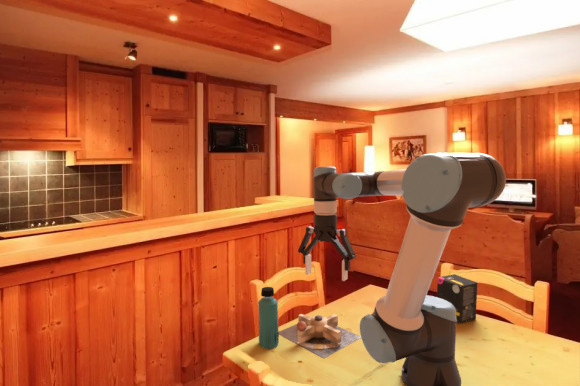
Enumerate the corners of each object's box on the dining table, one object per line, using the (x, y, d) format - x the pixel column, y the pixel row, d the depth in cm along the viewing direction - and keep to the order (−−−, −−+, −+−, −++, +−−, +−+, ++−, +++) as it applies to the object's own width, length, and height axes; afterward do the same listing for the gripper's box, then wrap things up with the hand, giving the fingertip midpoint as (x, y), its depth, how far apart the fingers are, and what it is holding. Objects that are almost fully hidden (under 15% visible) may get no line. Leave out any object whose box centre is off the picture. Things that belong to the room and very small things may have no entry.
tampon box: (435, 313, 143) (436, 276, 142) (452, 308, 147) (453, 273, 146) (458, 324, 133) (460, 285, 132) (476, 319, 137) (478, 281, 136)
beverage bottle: (276, 354, 114) (275, 292, 112) (256, 352, 116) (254, 291, 114) (281, 344, 121) (280, 285, 119) (261, 342, 122) (260, 284, 120)
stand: (362, 341, 122) (362, 336, 122) (323, 363, 109) (323, 357, 109) (314, 320, 138) (314, 315, 138) (276, 337, 125) (276, 332, 125)
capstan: (356, 334, 123) (356, 314, 122) (318, 355, 110) (318, 332, 110) (317, 317, 136) (317, 299, 136) (279, 334, 124) (279, 314, 123)
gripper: (365, 214, 117) (365, 279, 119) (299, 210, 130) (300, 268, 132) (356, 217, 111) (356, 285, 112) (287, 212, 124) (288, 274, 126)
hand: (326, 276), depth 122 cm, fingers open, 13 cm apart
